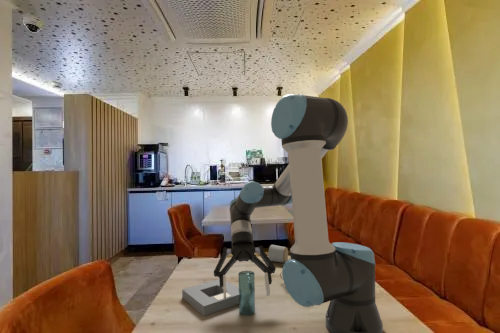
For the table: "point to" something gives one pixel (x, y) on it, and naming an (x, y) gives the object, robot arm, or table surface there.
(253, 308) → the teal cylinder
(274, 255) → the ceramic mug
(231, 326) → the table surface
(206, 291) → the socket block
